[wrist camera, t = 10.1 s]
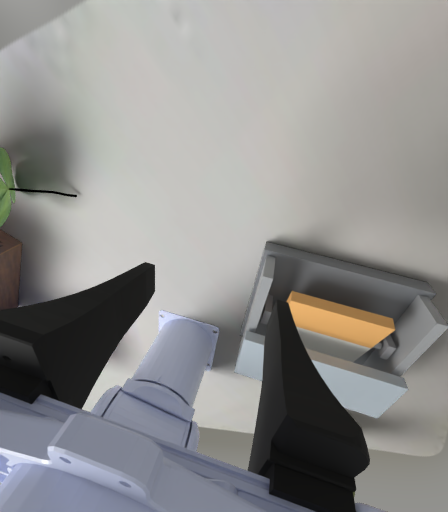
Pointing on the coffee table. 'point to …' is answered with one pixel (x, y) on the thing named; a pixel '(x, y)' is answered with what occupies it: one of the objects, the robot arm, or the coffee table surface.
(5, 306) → the tissue box cover
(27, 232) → the coffee table surface
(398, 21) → the coffee table surface
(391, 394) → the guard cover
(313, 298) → the rocker
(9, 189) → the seedling
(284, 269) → the box
